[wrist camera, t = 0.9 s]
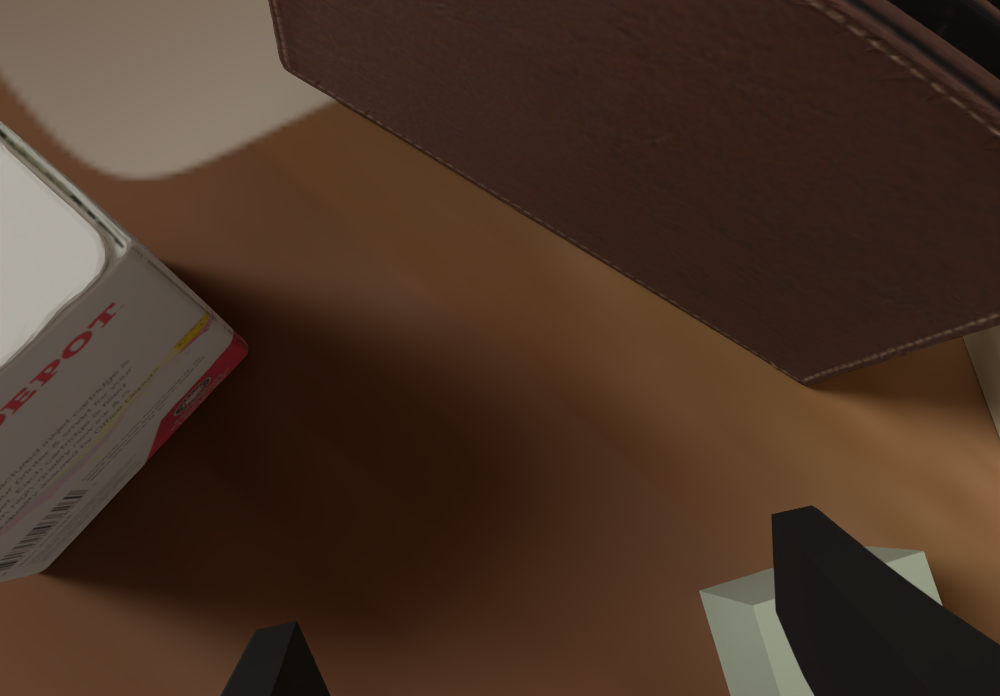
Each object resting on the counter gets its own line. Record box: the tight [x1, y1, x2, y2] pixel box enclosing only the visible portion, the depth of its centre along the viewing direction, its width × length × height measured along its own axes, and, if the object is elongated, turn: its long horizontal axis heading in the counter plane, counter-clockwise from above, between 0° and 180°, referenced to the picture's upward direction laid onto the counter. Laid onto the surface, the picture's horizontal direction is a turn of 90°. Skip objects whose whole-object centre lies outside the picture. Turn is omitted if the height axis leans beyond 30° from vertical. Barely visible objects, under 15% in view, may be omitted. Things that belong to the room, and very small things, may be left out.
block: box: [699, 546, 942, 696], centre depth 23 cm, size 5×5×4 cm
